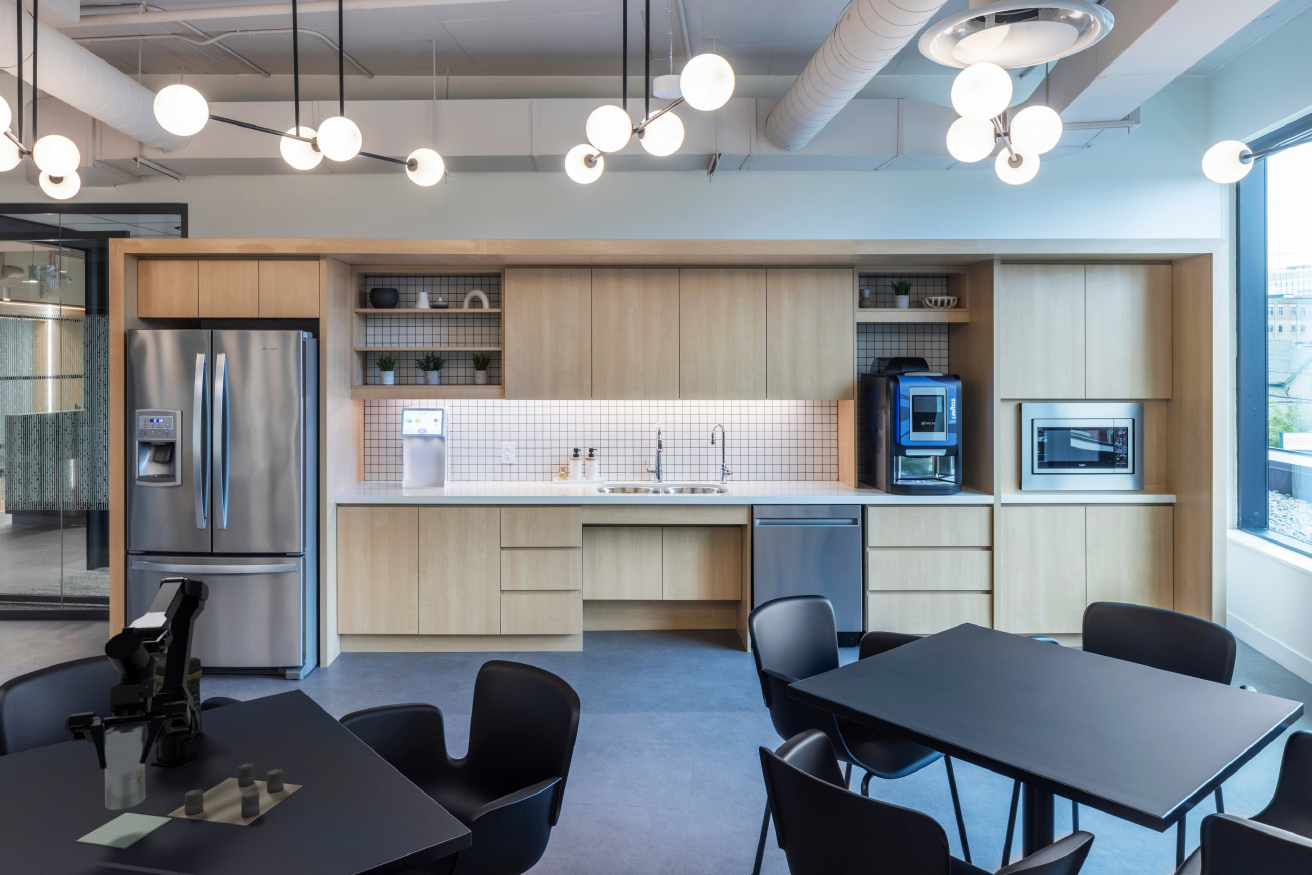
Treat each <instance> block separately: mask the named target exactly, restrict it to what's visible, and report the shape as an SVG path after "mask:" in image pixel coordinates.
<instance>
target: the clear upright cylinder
mask: <svg viewBox="0 0 1312 875" xmlns="http://www.w3.org/2000/svg"><path fill="white" fill-rule="evenodd" d="M104 743H105V768H104V804H105V805H104V807H105V809H107V810H111V811H119V810H125V809H129V808H131V807H134V806H137V805H139V804H140V803H142V802H144V801H145V800H146V794H147V793H146V764H143V756H144V750H145V746H146V727H145V724H140V723H131V724H124V725H119V726H116V727H113V728H107V729H106V731H105V733H104Z"/></svg>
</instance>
